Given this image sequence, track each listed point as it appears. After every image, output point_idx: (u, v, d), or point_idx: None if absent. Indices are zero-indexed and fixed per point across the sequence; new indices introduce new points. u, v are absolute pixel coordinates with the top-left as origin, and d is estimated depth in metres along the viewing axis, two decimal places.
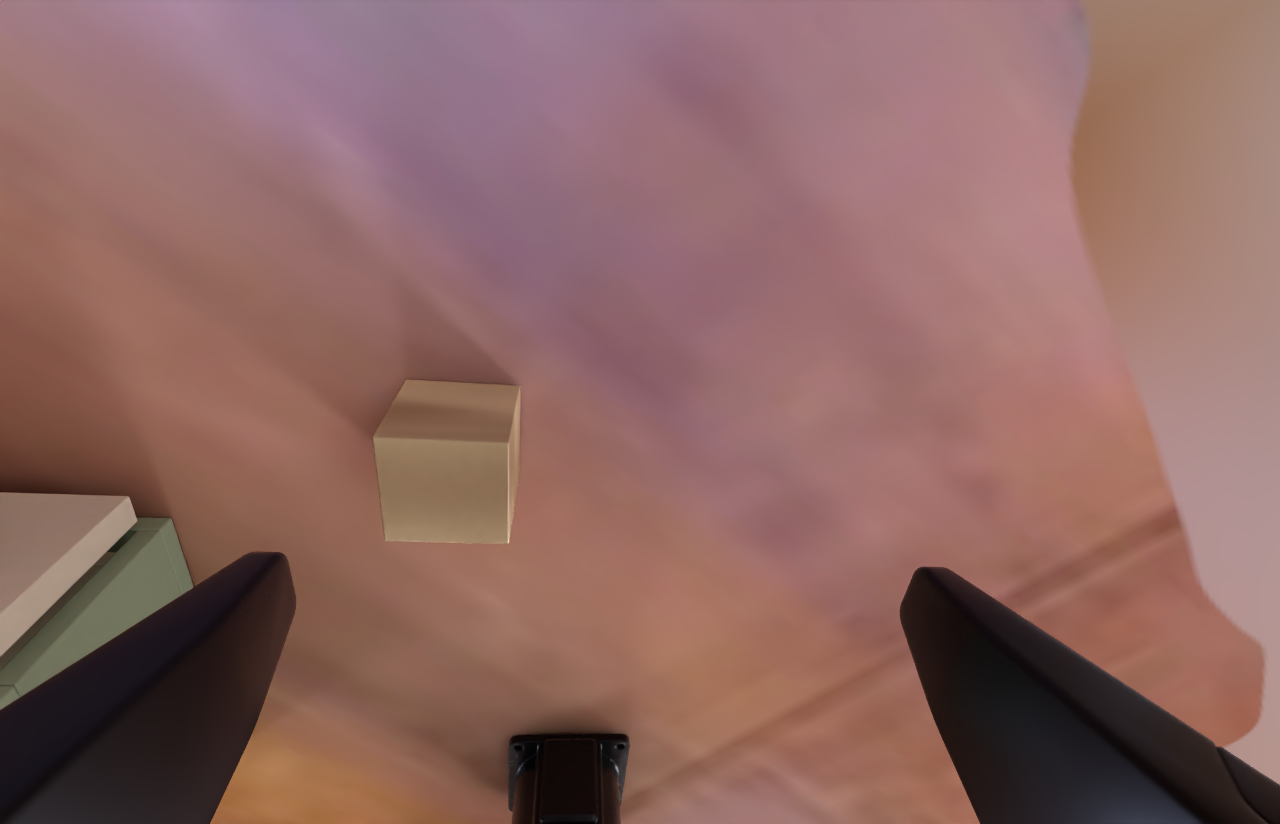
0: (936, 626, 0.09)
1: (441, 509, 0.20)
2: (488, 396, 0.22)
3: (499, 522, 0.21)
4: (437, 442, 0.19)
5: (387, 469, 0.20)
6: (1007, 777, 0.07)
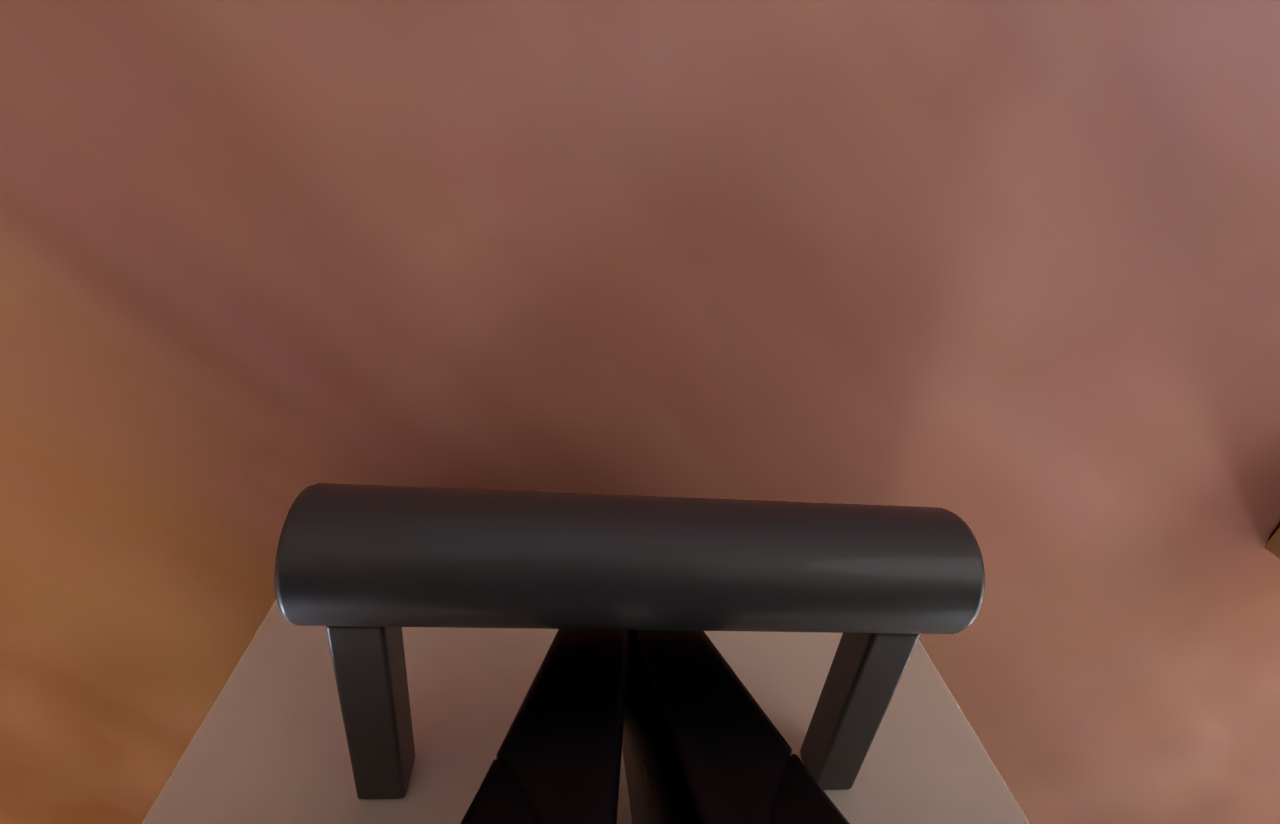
0: None
1: None
2: None
3: None
4: None
5: None
6: (641, 786, 0.07)
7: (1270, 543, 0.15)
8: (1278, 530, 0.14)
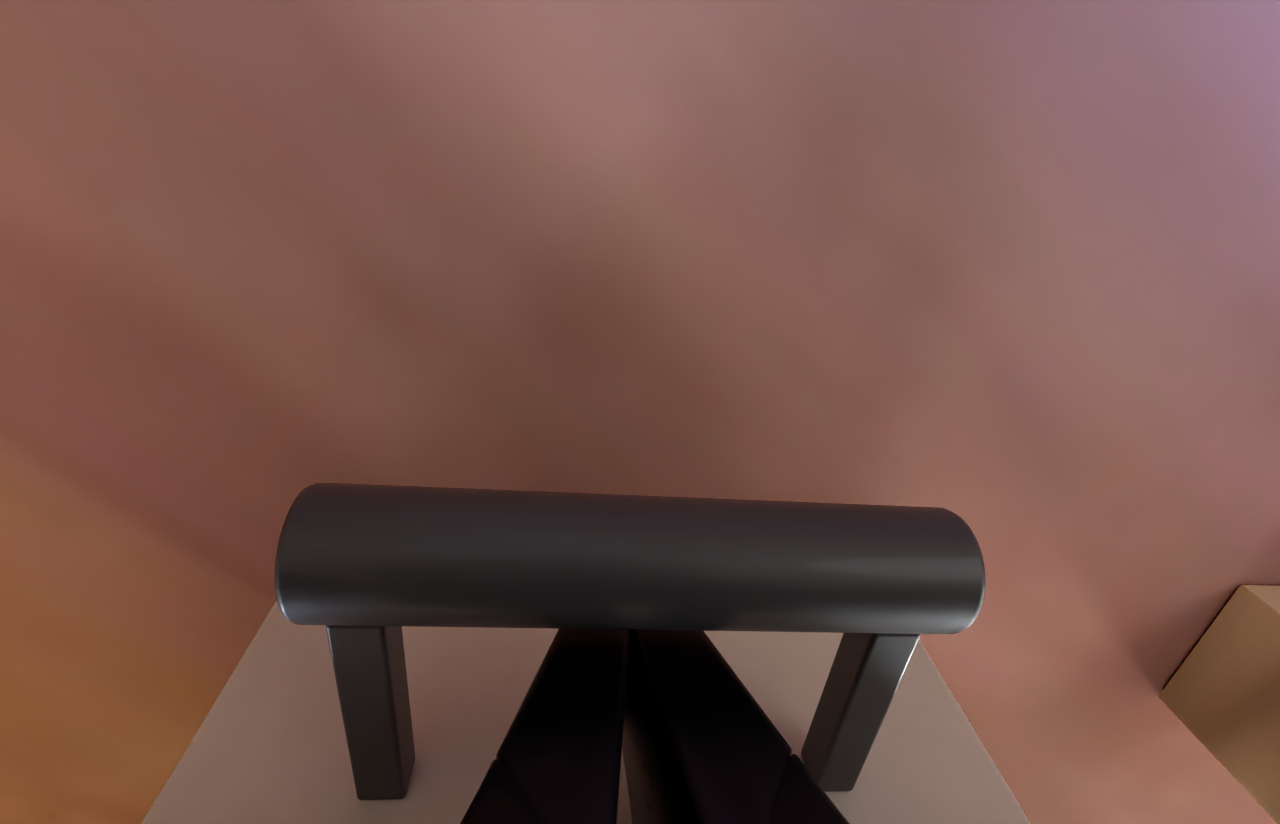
0: None
1: None
2: None
3: None
4: None
5: None
6: (641, 785, 0.07)
7: (1163, 693, 0.17)
8: (1168, 684, 0.17)
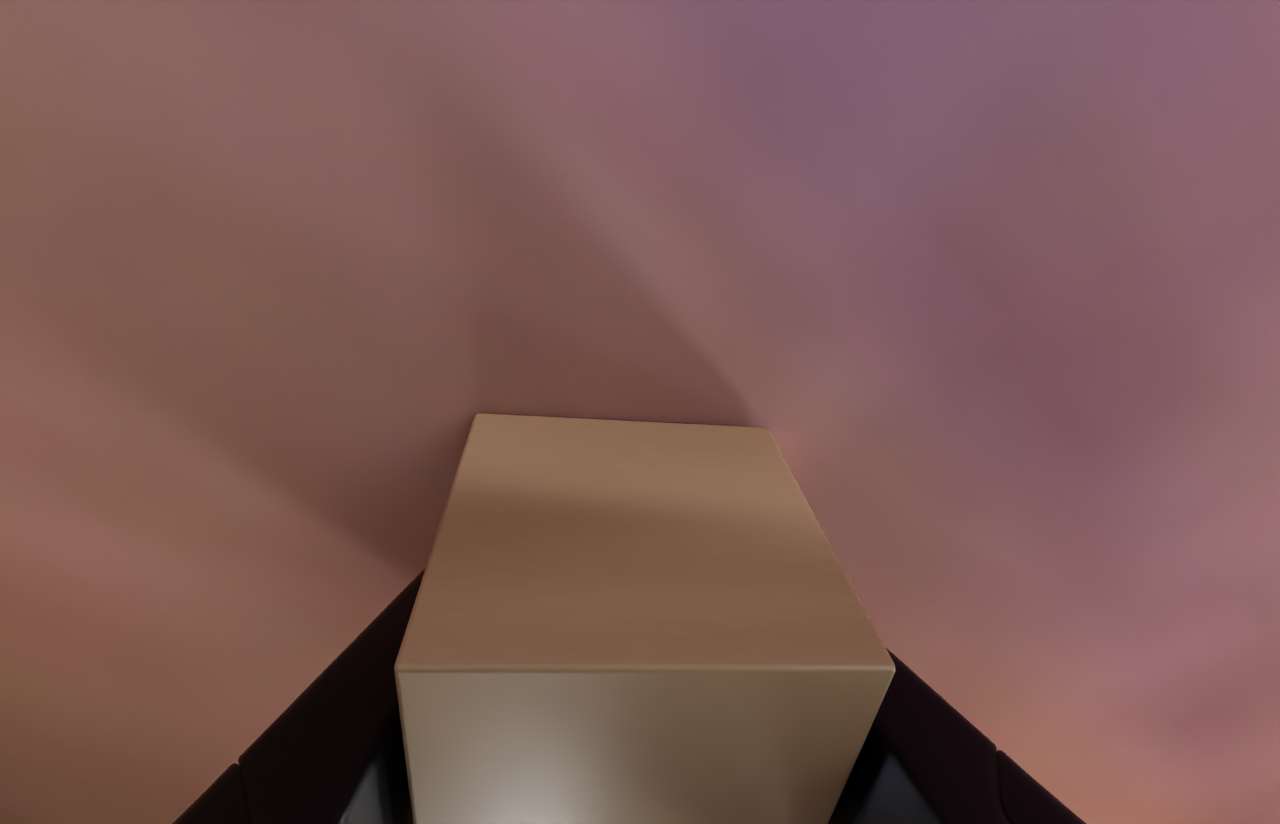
0: None
1: None
2: (710, 462, 0.08)
3: None
4: (643, 676, 0.05)
5: (446, 762, 0.05)
6: None
7: None
8: None
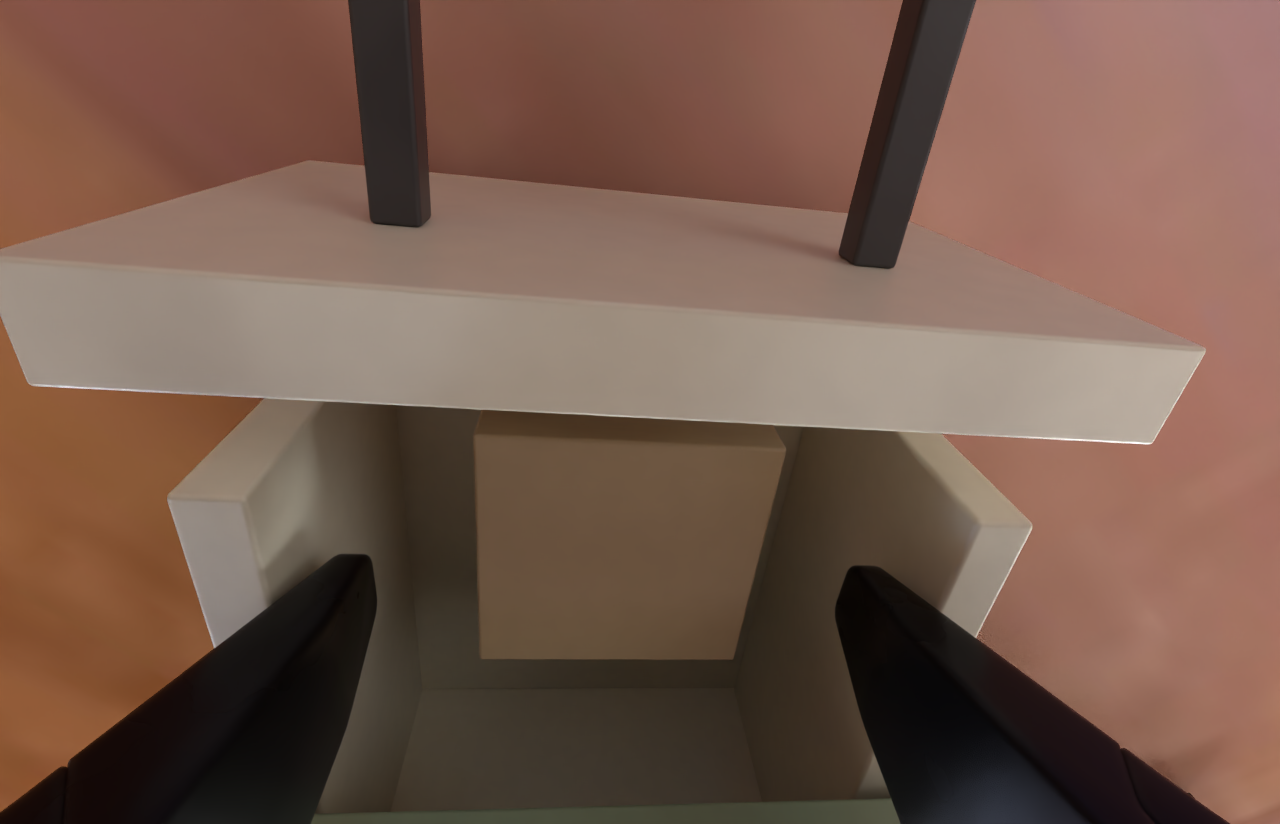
0: (864, 625, 0.08)
1: (608, 595, 0.09)
2: None
3: (726, 620, 0.10)
4: (626, 448, 0.08)
5: (501, 511, 0.08)
6: (924, 779, 0.07)
7: None
8: None
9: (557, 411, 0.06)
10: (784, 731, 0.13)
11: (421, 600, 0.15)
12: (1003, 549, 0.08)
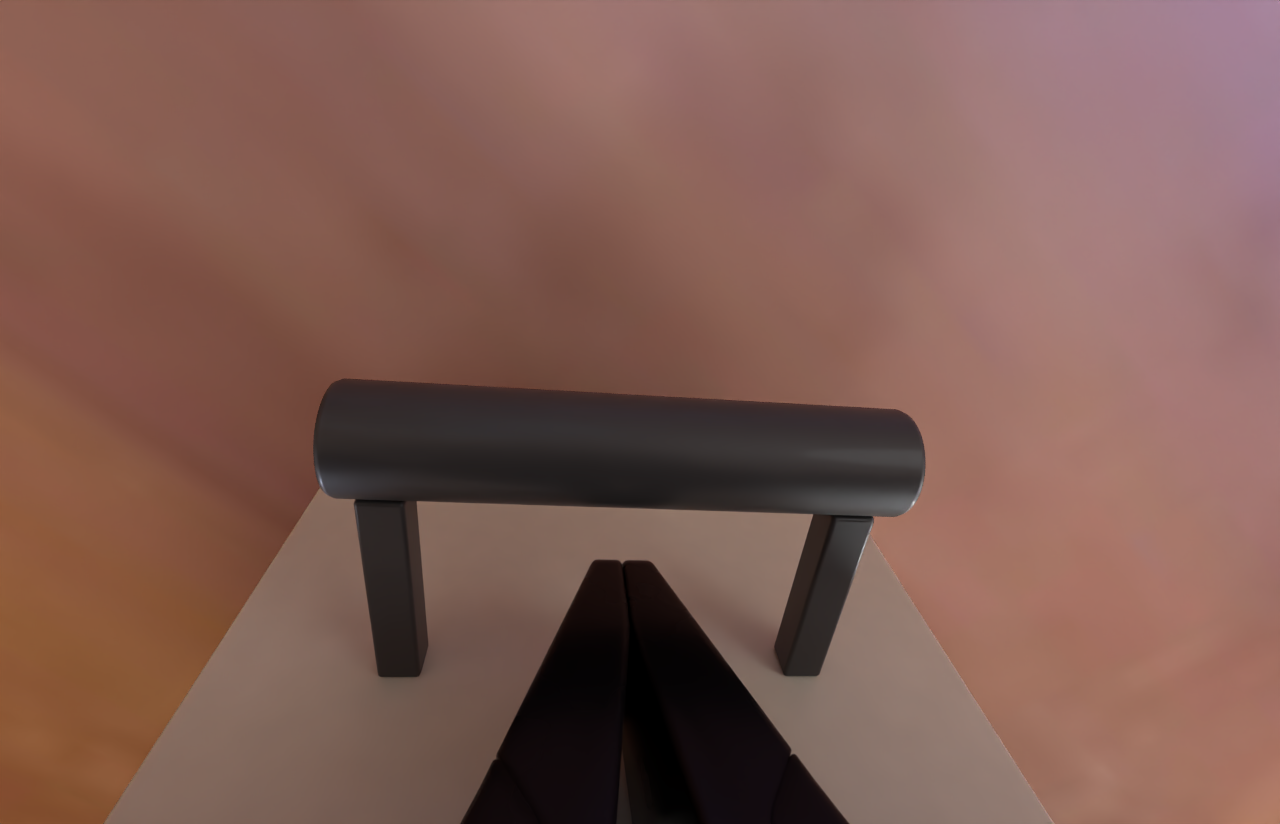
0: None
1: None
2: None
3: None
4: None
5: None
6: (641, 785, 0.07)
7: None
8: None
9: None
10: None
11: None
12: None
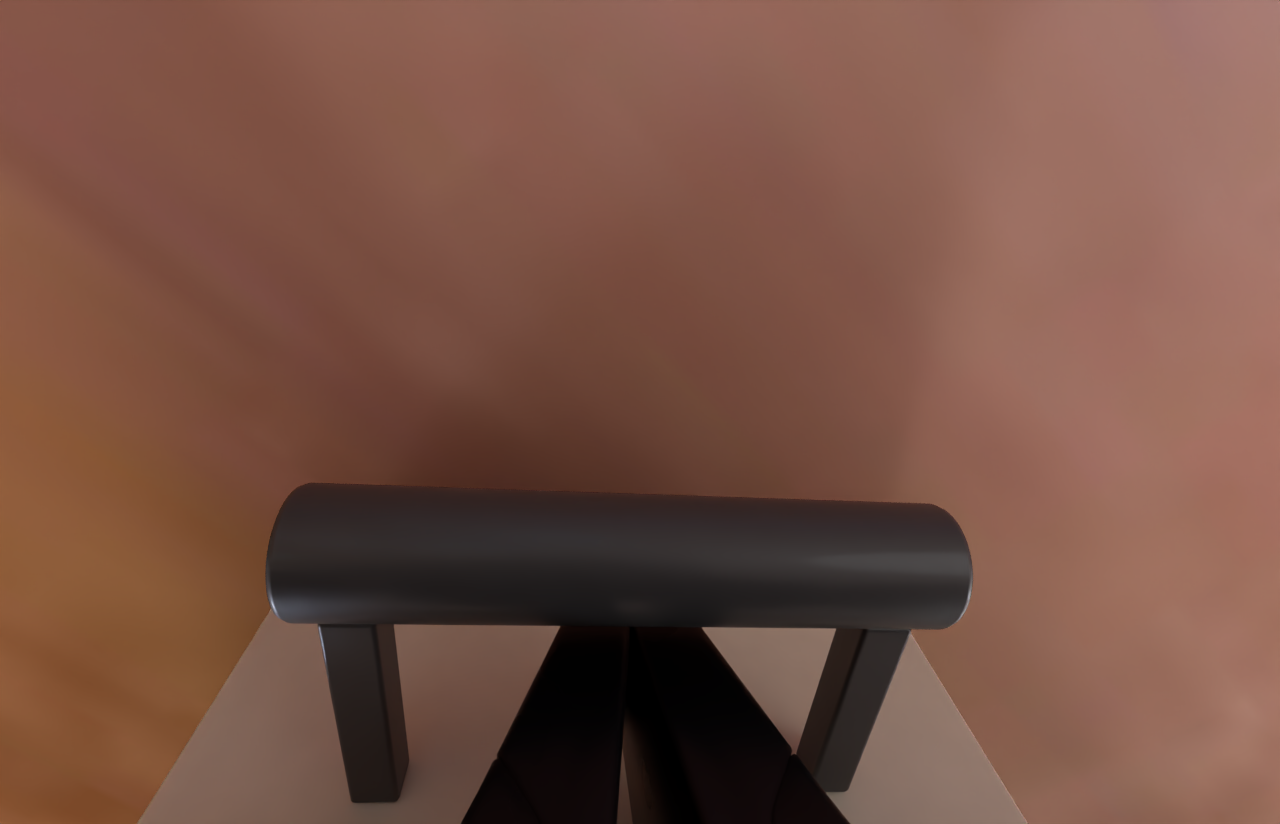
0: None
1: None
2: None
3: None
4: None
5: None
6: (641, 785, 0.07)
7: None
8: None
9: None
10: None
11: None
12: None
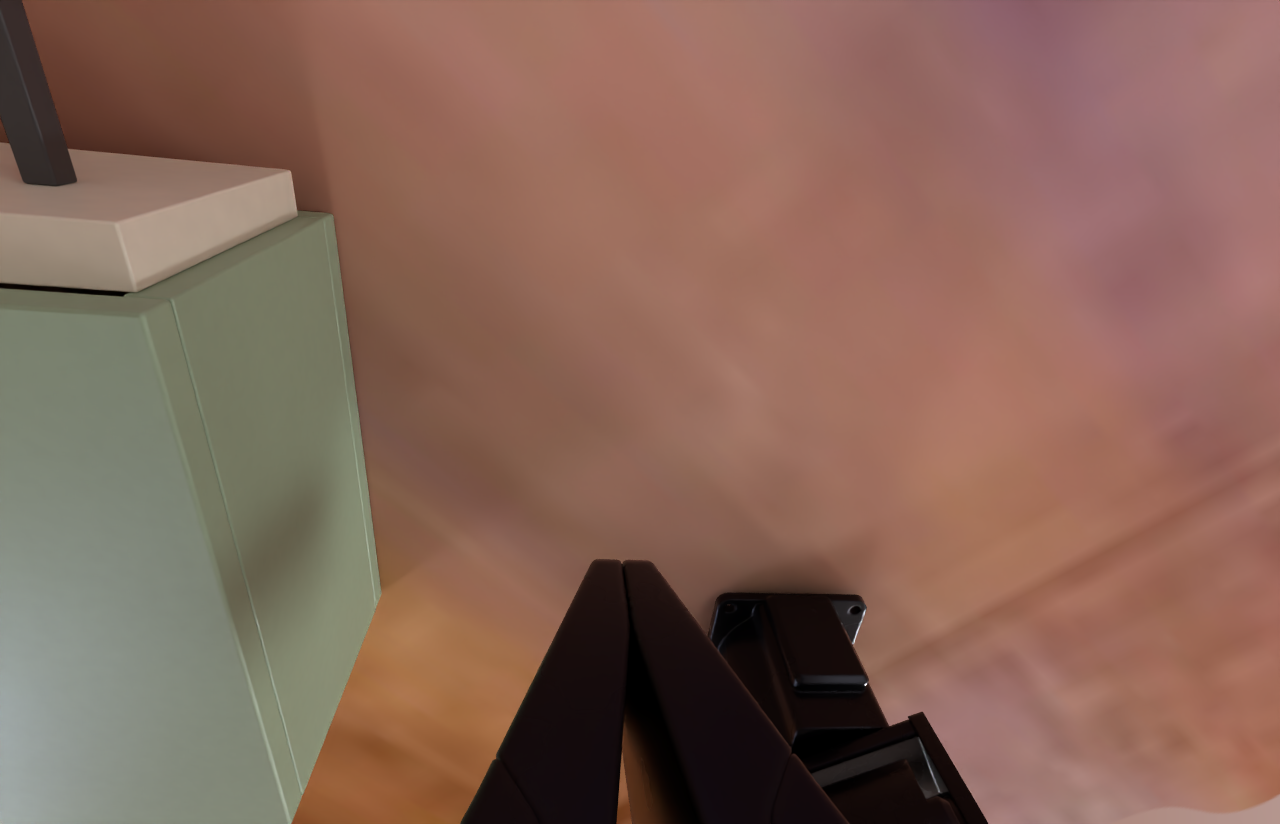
0: None
1: None
2: None
3: None
4: None
5: None
6: (641, 785, 0.07)
7: None
8: None
9: None
10: None
11: None
12: None
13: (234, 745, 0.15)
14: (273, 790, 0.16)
